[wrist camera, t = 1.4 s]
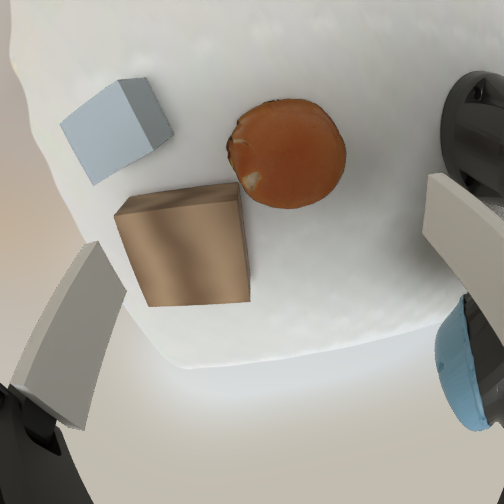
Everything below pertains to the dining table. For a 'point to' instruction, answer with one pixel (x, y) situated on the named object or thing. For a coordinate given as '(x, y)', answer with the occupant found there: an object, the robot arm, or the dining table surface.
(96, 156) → the slate cube
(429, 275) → the dining table surface
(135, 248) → the walnut block
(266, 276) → the dining table surface
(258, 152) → the burger
